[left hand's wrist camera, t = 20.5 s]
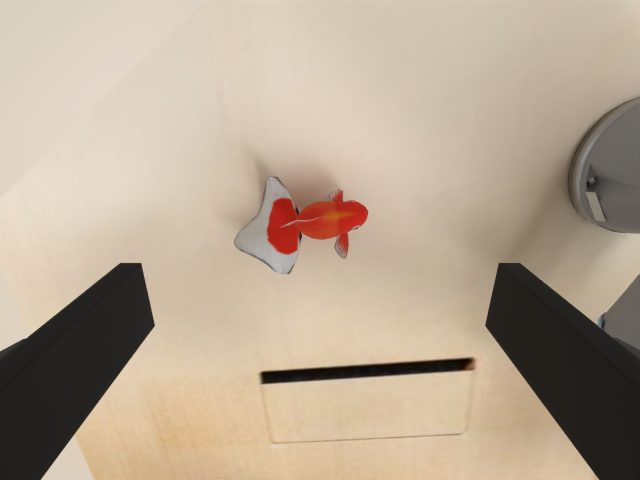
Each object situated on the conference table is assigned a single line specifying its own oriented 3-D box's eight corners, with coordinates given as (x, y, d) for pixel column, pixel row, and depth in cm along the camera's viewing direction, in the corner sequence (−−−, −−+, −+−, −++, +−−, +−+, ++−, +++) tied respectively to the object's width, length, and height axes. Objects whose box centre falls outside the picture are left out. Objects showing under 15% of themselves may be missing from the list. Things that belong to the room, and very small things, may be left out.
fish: (368, 285, 40) (338, 298, 31) (258, 261, 46) (206, 266, 37) (382, 194, 39) (356, 179, 30) (268, 182, 46) (218, 167, 36)
